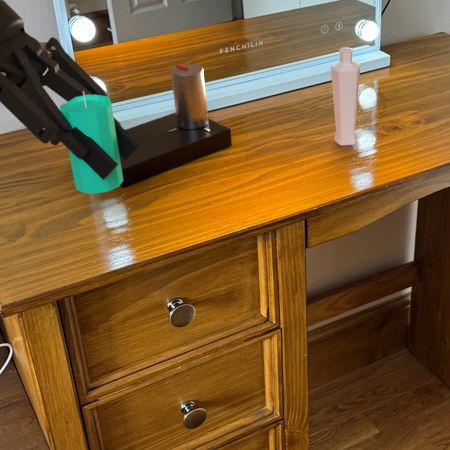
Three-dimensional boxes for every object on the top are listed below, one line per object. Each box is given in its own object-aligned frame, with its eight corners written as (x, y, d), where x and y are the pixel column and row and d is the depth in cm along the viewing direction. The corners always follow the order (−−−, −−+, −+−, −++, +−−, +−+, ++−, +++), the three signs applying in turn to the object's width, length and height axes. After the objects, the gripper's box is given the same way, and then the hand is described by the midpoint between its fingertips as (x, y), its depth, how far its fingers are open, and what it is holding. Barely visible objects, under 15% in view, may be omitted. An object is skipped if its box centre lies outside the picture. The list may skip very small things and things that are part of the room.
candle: (111, 167, 99) (96, 79, 93) (131, 184, 95) (117, 92, 89) (67, 180, 96) (49, 90, 90) (86, 198, 92) (68, 104, 86)
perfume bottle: (346, 149, 120) (346, 56, 112) (327, 141, 123) (326, 50, 115) (366, 140, 123) (368, 49, 115) (347, 132, 125) (347, 43, 118)
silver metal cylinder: (214, 123, 123) (209, 67, 118) (189, 132, 120) (182, 75, 115) (196, 114, 126) (190, 60, 121) (171, 123, 123) (164, 68, 118)
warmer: (123, 188, 111) (120, 169, 109) (82, 162, 119) (79, 144, 117) (239, 142, 123) (238, 124, 122) (196, 122, 131) (194, 104, 129)
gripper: (9, 19, 99) (140, 149, 103) (-91, 63, 84) (66, 213, 88) (36, -21, 95) (171, 116, 98) (-64, 18, 80) (100, 177, 84)
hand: (121, 162), depth 93 cm, fingers closed on candle, 5 cm apart
